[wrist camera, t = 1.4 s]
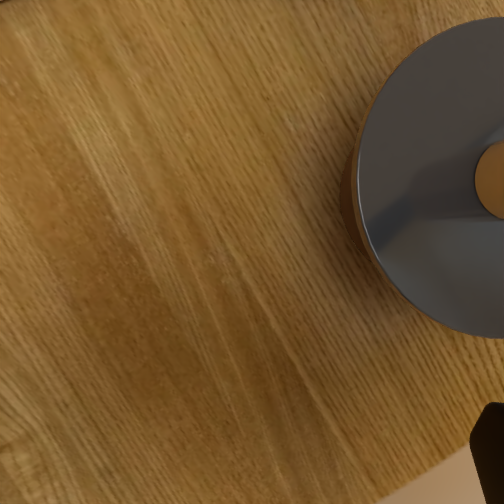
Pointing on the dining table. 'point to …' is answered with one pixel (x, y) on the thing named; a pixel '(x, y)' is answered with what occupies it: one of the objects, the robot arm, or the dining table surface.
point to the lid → (439, 178)
